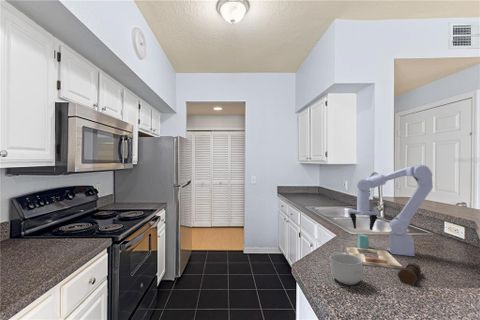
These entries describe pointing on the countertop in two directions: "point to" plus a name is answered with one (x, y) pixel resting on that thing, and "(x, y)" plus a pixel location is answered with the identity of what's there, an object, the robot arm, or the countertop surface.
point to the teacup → (346, 268)
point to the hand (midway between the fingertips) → (362, 229)
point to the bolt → (409, 274)
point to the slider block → (363, 241)
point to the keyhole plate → (381, 261)
